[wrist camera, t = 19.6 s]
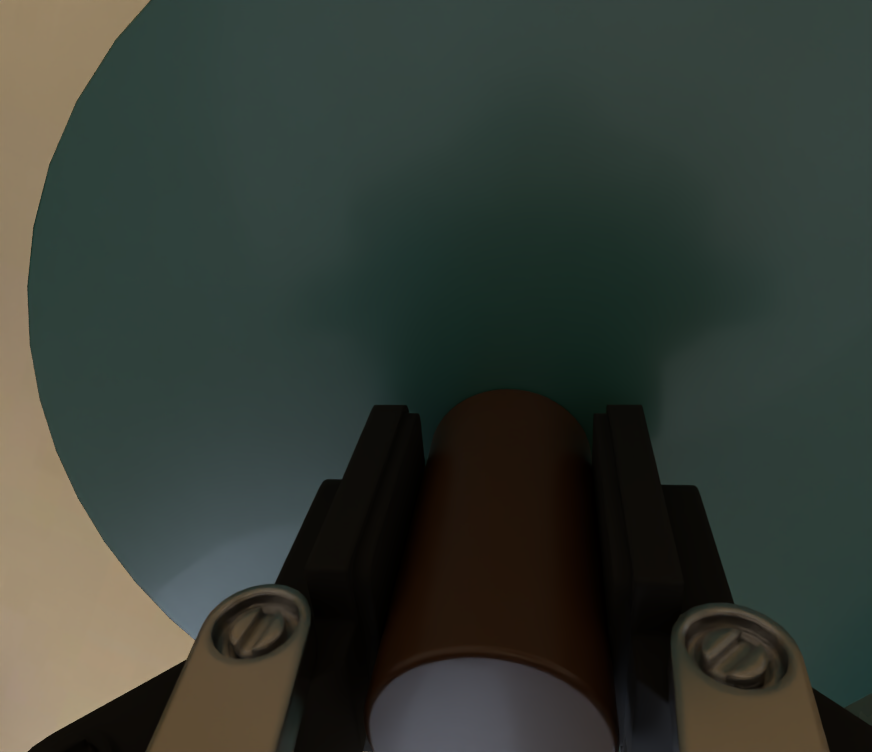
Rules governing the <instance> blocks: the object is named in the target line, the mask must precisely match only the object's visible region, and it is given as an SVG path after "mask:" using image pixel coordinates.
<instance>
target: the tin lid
mask: <svg viewBox="0 0 872 752" xmlns="http://www.w3.org/2000/svg"><path fill="white" fill-rule="evenodd" d="M27 288H28V312H29V336H30V348H31V354H32V359H33V365H34V370H35V376H36V381H37V387H38V392H39V398H40V402H41V405H42V408H43V411H44V414H45V417H46V420H47V424H48V427H49V430H50V433H51V436H52V439H53V442H54V445H55V449H56V451H57V454H58V456H59V458H60V460H61V462H62V464H63V467H64V469H65V471H66V473H67V475H68V478H69V480H70V482H71V484H72V486H73V488H74V491H75V493H76V495H77V497H78V499H79V501H80V502H81V504H82V506H83V507H84V509H85V511H86V512H87V514H88V515H89V517H90V519H91V520H92V522H93V524H94V525H95V527H96V529H97V530H98V532H99V534H100V535H101V537H102V538H103V540H104V542H105V543H106V544H107V546H108V547H109V548H110V550H111V551H112V552H113V554H114V555H115V556H116V557H117V559H118V560H119V561H120V563H121V564H122V565H123V567H124V568H125V569H126V570H127V572H128V573H129V574H130V576H131V577H132V578H133V580H134V581H135V582H136V583H137V584H138V585H139V586H140V587H141V589H142V590H143V591H144V592H145V593H146V594H147V595H148V596H149V597H150V598H151V599H152V600H153V601H154V602H155V603H156V604H157V605H158V606H159V608H160V609H161V610H162V611H163V612H164V613H165V614H166V615H167V616H168V617H169V618H170V619H171V620H172V621H173V622H175V623H176V624H177V625H178V626H179V627H180V628H181V629H183V630H184V631H185V632H186V633H187V634H188V635H190V636H191V637H192V638H193V639H194V640H196V637H197V635H198V633H199V631H200V628H201V626H202V624H203V623H204V621H205V620H206V618H207V616H208V615H209V613H210V612H211V611H212V610H213V609H214V608H215V607H216V606H217V605H218V604H219V603H220V602H222V601H223V600H224V599H226V598H228V597H229V596H231V595H233V594H234V593H236V592H238V591H241V590H244V589H246V588H249V587H252V586H257V585H264V584H275V582H276V580H277V577H278V575H279V573H280V571H281V569H282V567H283V564H284V562H285V560H286V558H287V556H288V554H289V552H290V549H291V547H292V545H293V543H294V541H295V539H296V536H297V534H298V532H299V530H300V528H301V526H302V524H303V521H304V519H305V517H306V515H307V513H308V511H309V508H310V506H311V504H312V502H313V500H314V498H315V496H316V493H317V491H318V489H319V487H320V485H321V484H322V482H323V481H324V480H326V479H342V478H343V475H344V473H345V471H346V468H347V466H348V464H349V461H350V459H351V457H352V454H353V452H354V450H355V447H356V445H357V443H358V440H359V438H360V435H361V433H362V431H363V428H364V426H365V424H366V421H367V419H368V417H369V414H370V412H371V410H372V408H373V406H374V405H407V406H408V409H409V413H419V415H420V420H421V428H422V438H423V448H424V457H425V470H424V474H423V478H422V482H421V486H420V490H419V494H418V498H417V501H416V505H415V509H414V513H413V517H412V521H411V525H410V529H409V533H408V536H407V540H406V544H405V548H404V552H403V556H402V560H401V564H400V568H399V571H398V575H397V579H396V583H395V587H394V591H393V595H392V599H391V603H390V606H389V610H388V614H387V618H386V622H385V626H384V630H383V634H382V638H381V641H380V645H379V649H378V653H377V657H376V661H375V665H374V669H373V673H372V676H371V680H370V684H369V688H368V692H367V696H366V700H365V704H364V713H363V717H364V726H365V731H366V735H367V738H368V742H369V744H370V746H371V748H372V750H373V752H620V736H619V724H618V714H617V704H616V695H615V685H614V675H613V665H612V660H611V656H610V647H609V637H608V627H607V617H606V607H605V596H604V586H603V576H602V566H601V556H600V546H599V536H598V526H597V516H596V506H595V495H594V485H593V475H592V443H593V415H594V413H606V407H607V405H642V407H643V411H644V415H645V419H646V423H647V427H648V432H649V436H650V440H651V444H652V448H653V453H654V457H655V461H656V465H657V469H658V474H659V478H660V482H661V485H695V486H696V487H697V488H698V490H699V492H700V495H701V498H702V502H703V505H704V508H705V511H706V514H707V518H708V521H709V524H710V527H711V530H712V534H713V537H714V540H715V543H716V546H717V550H718V553H719V556H720V559H721V562H722V566H723V569H724V572H725V575H726V578H727V582H728V585H729V588H730V591H731V594H732V598H733V601H734V604H736V605H741V606H746V607H748V608H751V609H753V610H756V611H758V612H760V613H763V614H765V615H767V616H768V617H770V618H771V619H772V620H774V621H775V622H777V623H778V624H780V625H781V626H782V627H783V628H784V629H785V630H786V631H787V632H788V633H789V634H790V635H791V636H792V637H793V639H794V640H795V641H796V643H797V645H798V647H799V649H800V651H801V653H802V656H803V659H804V662H805V666H806V669H807V673H808V676H809V680H810V683H811V687H813V688H814V689H816V690H817V691H819V692H820V693H822V694H823V695H825V696H826V697H828V698H829V699H831V700H832V701H834V702H836V703H837V704H839V705H840V706H842V707H843V708H845V707H847V706H848V705H850V704H852V703H854V702H856V701H858V700H860V699H861V698H863V697H865V696H867V695H869V694H871V693H872V0H150V1H149V3H148V4H147V5H146V6H145V7H144V8H143V9H142V10H141V12H140V13H139V14H138V15H137V16H136V17H135V18H134V20H133V21H132V22H131V23H130V24H129V25H128V26H127V27H126V29H125V30H124V31H123V32H122V33H121V34H120V35H119V37H118V38H117V39H116V40H115V41H114V43H113V45H112V46H111V48H110V49H109V51H108V53H107V54H106V56H105V57H104V59H103V60H102V62H101V64H100V65H99V67H98V68H97V70H96V72H95V73H94V75H93V76H92V78H91V79H90V81H89V83H88V84H87V86H86V87H85V89H84V90H83V92H82V94H81V95H80V97H79V98H78V100H77V102H76V104H75V106H74V109H73V111H72V113H71V116H70V118H69V120H68V123H67V125H66V127H65V129H64V132H63V134H62V136H61V139H60V141H59V143H58V146H57V148H56V150H55V153H54V155H53V157H52V160H51V162H50V164H49V168H48V172H47V176H46V180H45V184H44V188H43V192H42V196H41V199H40V203H39V207H38V211H37V215H36V219H35V223H34V227H33V237H32V247H31V257H30V266H29V276H28V286H27Z"/></svg>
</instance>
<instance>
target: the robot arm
mask: <svg viewBox="0 0 872 752" xmlns="http://www.w3.org/2000/svg"><path fill="white" fill-rule="evenodd" d="M424 470H425V457H424V448H423V438H422V428H421V420H420V415H419V413H409V409H408V406H407V405H374V406H373V408H372V410H371V412H370V414H369V417H368V419H367V421H366V424H365V426H364V428H363V431H362V433H361V435H360V438H359V440H358V443H357V445H356V447H355V450H354V452H353V454H352V457H351V459H350V461H349V464H348V466H347V468H346V471H345V473H344V475H343V478H342V479H326V480H324V481H323V482H322V484H321V485H320V487H319V489H318V491H317V493H316V496H315V498H314V500H313V502H312V504H311V506H310V508H309V511H308V513H307V515H306V517H305V519H304V521H303V524H302V526H301V528H300V530H299V532H298V534H297V536H296V539H295V541H294V543H293V545H292V547H291V549H290V552H289V554H288V556H287V558H286V560H285V562H284V564H283V567H282V569H281V571H280V573H279V575H278V577H277V580H276V582H275V584H264V585H257V586H252V587H249V588H246V589H244V590H241V591H238V592H236V593H234V594H233V595H231V596H229V597H228V598H226V599H224V600H223V601H222V602H220V603H219V604H218V605H217V606H216V607H215V608H214V609H213V610H212V611H211V612H210V613H209V615H208V616H207V618H206V620H205V621H204V623H203V624H202V626H201V628H200V631H199V633H198V635H197V637H196V640H195V642H194V644H193V646H192V649H191V651H190V653H189V655H188V658H187V660H185V661H183V662H181V663H180V664H178V665H176V666H174V667H172V668H170V669H169V670H167V671H165V672H163V673H161V674H160V675H158V676H156V677H154V678H152V679H151V680H149V681H147V682H145V683H143V684H142V685H140V686H138V687H136V688H134V689H132V690H131V691H129V692H127V693H125V694H123V695H122V696H120V697H118V698H116V699H114V700H113V701H111V702H109V703H107V704H105V705H104V706H102V707H100V708H98V709H96V710H94V711H93V712H91V713H89V714H87V715H85V716H84V717H82V718H80V719H78V720H76V721H75V722H73V723H71V724H69V725H67V726H66V727H64V728H62V729H60V730H58V731H57V732H55V733H53V734H51V735H50V736H48V737H47V738H45V739H44V740H42V741H41V742H39V743H38V744H36V745H35V746H33V747H32V748H31V749H30V750H29V751H28V752H363V751H364V752H373V750H372V748H371V746H370V744H369V742H368V738H367V735H366V731H365V726H364V717H363V713H364V704H365V700H366V696H367V692H368V688H369V684H370V680H371V676H372V673H373V669H374V665H375V661H376V657H377V653H378V649H379V645H380V641H381V638H382V634H383V630H384V626H385V622H386V618H387V614H388V610H389V606H390V603H391V599H392V595H393V591H394V587H395V583H396V579H397V575H398V571H399V568H400V564H401V560H402V556H403V552H404V548H405V544H406V540H407V536H408V533H409V529H410V525H411V521H412V517H413V513H414V509H415V505H416V501H417V498H418V494H419V490H420V486H421V482H422V478H423V474H424ZM592 475H593V485H594V495H595V506H596V516H597V526H598V536H599V546H600V556H601V566H602V576H603V586H604V596H605V607H606V617H607V627H608V637H609V647H610V656H611V660H612V665H613V675H614V685H615V695H616V704H617V714H618V724H619V736H620V752H872V726H871V725H869V724H868V723H866V722H865V721H863V720H862V719H860V718H859V717H857V716H855V715H854V714H852V713H851V712H849V711H848V710H846V709H845V708H843V707H842V706H840V705H839V704H837V703H836V702H834V701H832V700H831V699H829V698H828V697H826V696H825V695H823V694H822V693H820V692H819V691H817V690H816V689H814V688H813V687H811V683H810V680H809V676H808V673H807V669H806V666H805V662H804V659H803V656H802V653H801V651H800V649H799V647H798V645H797V643H796V641H795V640H794V639H793V637H792V636H791V635H790V634H789V633H788V632H787V631H786V630H785V629H784V628H783V627H782V626H781V625H780V624H778V623H777V622H775V621H774V620H772V619H771V618H770V617H768V616H767V615H765V614H763V613H760V612H758V611H756V610H753V609H751V608H748V607H746V606H741V605H736V604H734V601H733V598H732V594H731V591H730V588H729V585H728V582H727V578H726V575H725V572H724V569H723V566H722V562H721V559H720V556H719V553H718V550H717V546H716V543H715V540H714V537H713V534H712V530H711V527H710V524H709V521H708V518H707V514H706V511H705V508H704V505H703V502H702V498H701V495H700V492H699V490H698V488H697V487H696V486H695V485H661V482H660V478H659V474H658V469H657V465H656V461H655V457H654V453H653V448H652V444H651V440H650V436H649V432H648V427H647V423H646V419H645V415H644V411H643V407H642V405H607V407H606V413H594V415H593V443H592Z"/></svg>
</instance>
